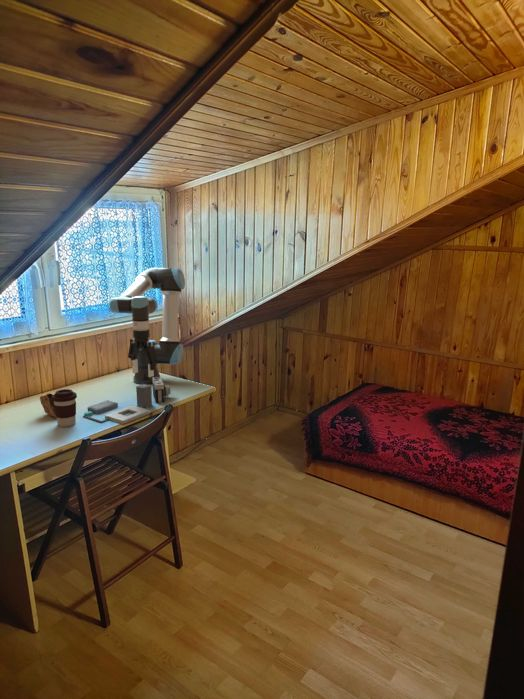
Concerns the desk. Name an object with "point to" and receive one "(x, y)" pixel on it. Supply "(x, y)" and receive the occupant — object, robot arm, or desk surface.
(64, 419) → the coffee cup
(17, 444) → the desk surface
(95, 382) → the desk surface
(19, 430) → the desk surface
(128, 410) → the outlet plate
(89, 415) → the cable
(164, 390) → the camera
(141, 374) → the robot arm
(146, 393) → the charger block
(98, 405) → the flat grey block
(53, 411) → the decorative rock
